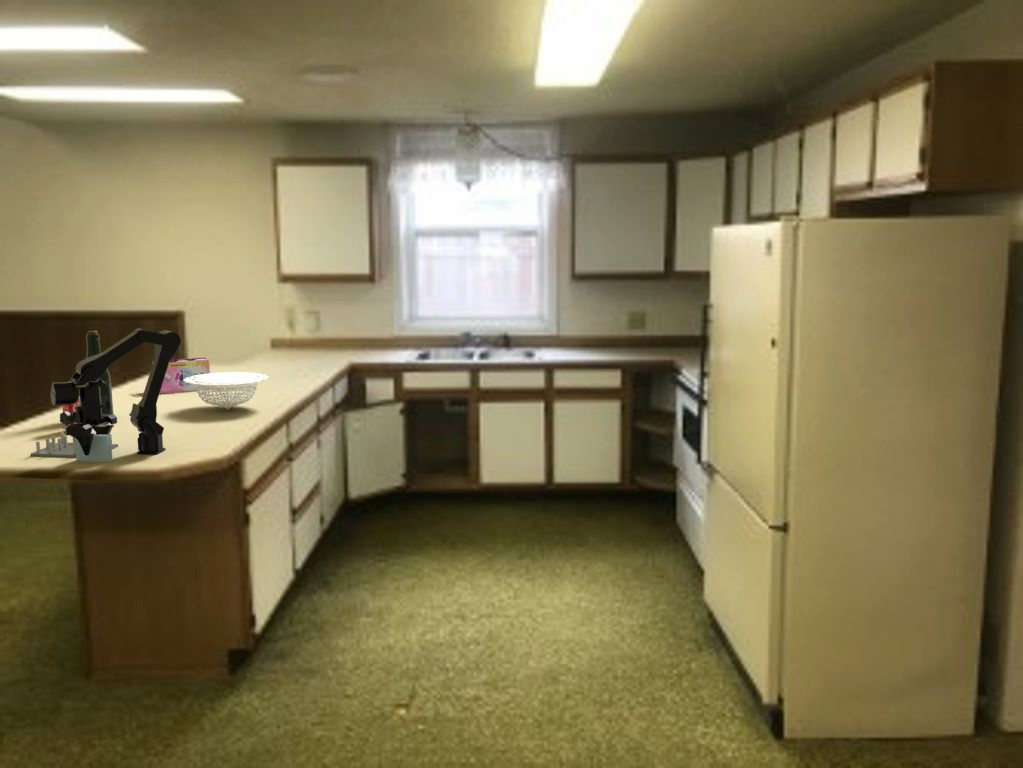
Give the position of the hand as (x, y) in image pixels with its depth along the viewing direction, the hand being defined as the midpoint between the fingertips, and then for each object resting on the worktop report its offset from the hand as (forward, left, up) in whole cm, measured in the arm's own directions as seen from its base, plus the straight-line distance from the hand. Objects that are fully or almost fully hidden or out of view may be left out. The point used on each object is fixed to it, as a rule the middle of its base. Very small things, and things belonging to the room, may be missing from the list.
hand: (94, 452), depth 264 cm
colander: (-9, -81, -3) cm, 81 cm away
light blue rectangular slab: (0, 0, -3) cm, 3 cm away
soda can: (+28, -37, -3) cm, 46 cm away
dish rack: (+12, -10, -2) cm, 16 cm away
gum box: (+27, -119, -3) cm, 122 cm away
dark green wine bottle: (+31, -57, -3) cm, 65 cm away
